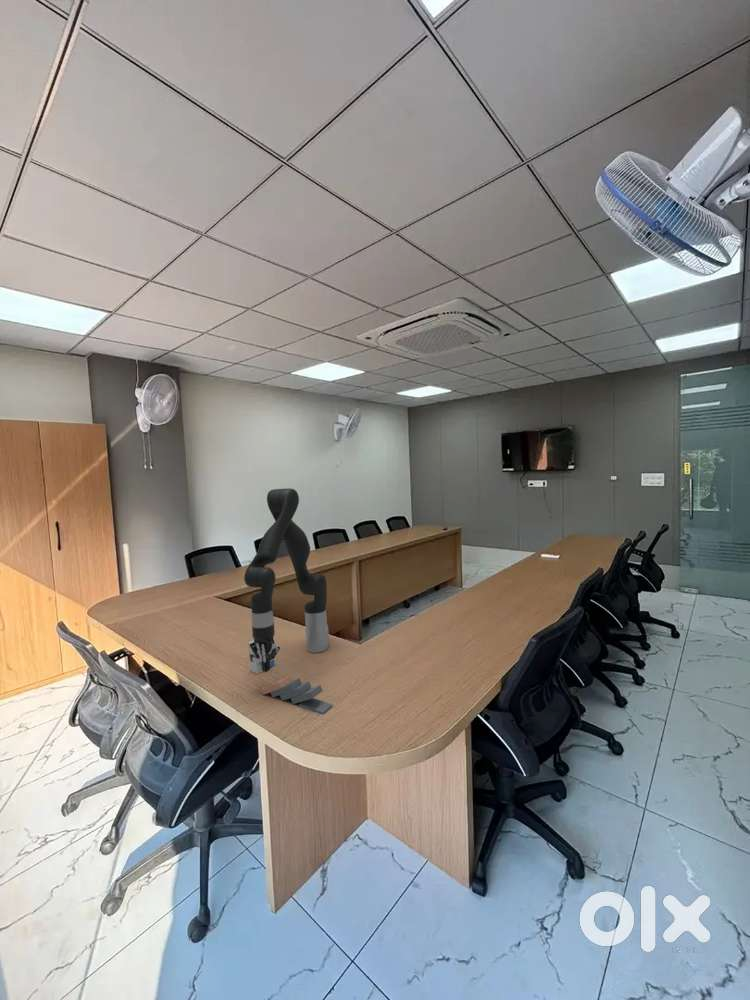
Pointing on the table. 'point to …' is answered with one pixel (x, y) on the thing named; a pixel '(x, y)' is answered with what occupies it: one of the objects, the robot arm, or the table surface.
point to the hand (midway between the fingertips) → (266, 670)
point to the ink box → (256, 662)
